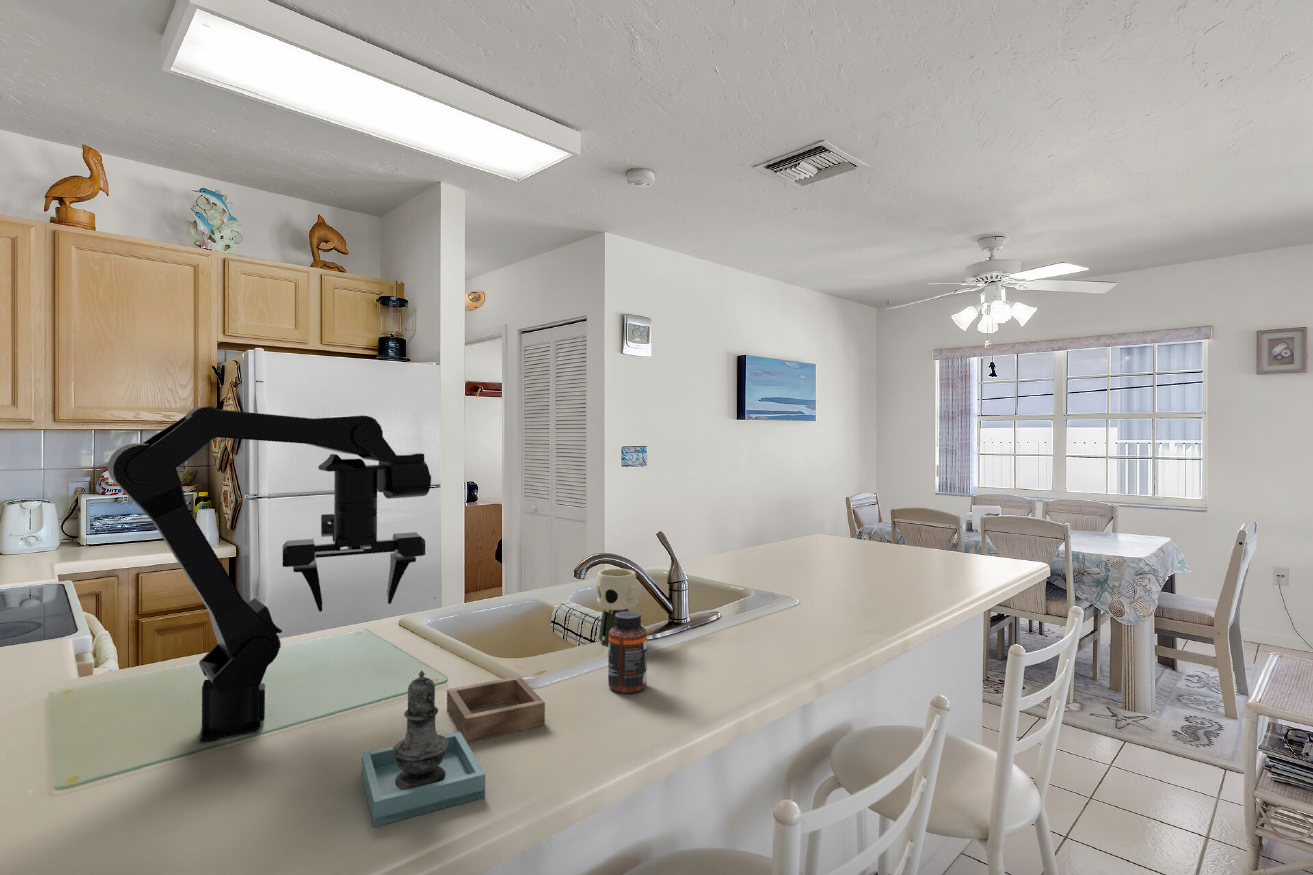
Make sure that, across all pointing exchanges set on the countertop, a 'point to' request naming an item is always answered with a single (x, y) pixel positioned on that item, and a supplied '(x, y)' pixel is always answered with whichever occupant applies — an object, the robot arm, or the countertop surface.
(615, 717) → the countertop surface
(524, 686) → the box
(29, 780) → the countertop surface
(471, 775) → the tray
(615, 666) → the supplement bottle
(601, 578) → the character mug
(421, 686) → the salt shaker
